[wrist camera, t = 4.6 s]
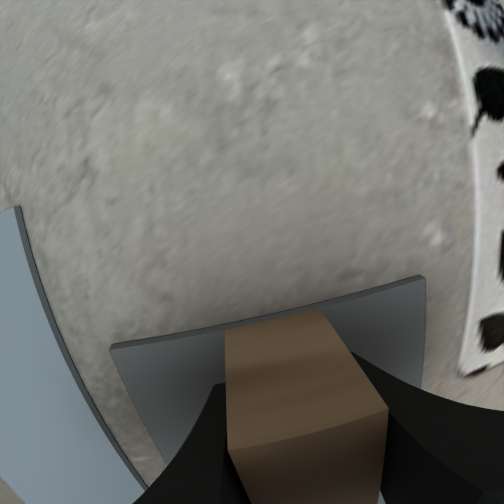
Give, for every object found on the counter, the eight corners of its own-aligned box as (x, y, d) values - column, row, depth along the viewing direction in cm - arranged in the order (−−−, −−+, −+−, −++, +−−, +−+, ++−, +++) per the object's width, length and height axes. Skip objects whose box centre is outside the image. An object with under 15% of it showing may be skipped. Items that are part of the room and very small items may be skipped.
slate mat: (178, 525, 13) (177, 530, 13) (36, 509, 13) (35, 513, 12) (19, 205, 9) (13, 207, 8) (-104, 267, 8) (-108, 269, 8)
